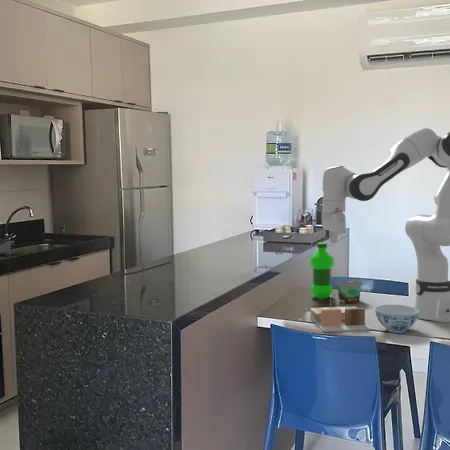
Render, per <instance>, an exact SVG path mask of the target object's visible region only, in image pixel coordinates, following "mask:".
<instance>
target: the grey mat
mask: <svg viewBox="0 0 450 450" xmlns="http://www.w3.org/2000/svg"><path fill="white" fill-rule="evenodd" d="M315 324H316V326H317V327H318V328H320V330H321V331H322V332H324V333H327V332H328V333H330V332H331V333H332V332H353V331H354V332H355V331H356V332H358V331H373V330H374V329H373V327H372V326H370V325H369V324H368V323H366V322H365V325H349V326H346V325H345V322H341V326H321V323H315Z"/></svg>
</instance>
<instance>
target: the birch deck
mask: <svg viewBox="0 0 450 450" xmlns="http://www.w3.org/2000/svg"><path fill="white" fill-rule="evenodd" d="M345 308H358V307H357V306H356V305H355V306H331V307H329V306H328V307H327V306H326V307H325V306H324V307H310V309H309V311H310V312H309V313H310V315H309V316H310V317H309V318H310V319H311V320H312V321H313V323H314V324H316V323H321V309H341V322H345Z"/></svg>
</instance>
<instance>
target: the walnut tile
mask: <svg viewBox="0 0 450 450" xmlns="http://www.w3.org/2000/svg"><path fill="white" fill-rule="evenodd" d="M365 323H366V309H365V308H364V307H357V308H345V325H346V326H349V325H365Z"/></svg>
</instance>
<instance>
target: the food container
mask: <svg viewBox="0 0 450 450" xmlns="http://www.w3.org/2000/svg"><path fill="white" fill-rule="evenodd" d="M336 286H337V292H338V295H337V296H338V302H340V303H339V304H343V303H345V304H347V305H353V304H358V303H360V300H361V299H360V298H361V289H362V286H363V280H362V279H361V278H358V279H357V280H346V281H341V280H337V282H336ZM345 304H344V305H345Z"/></svg>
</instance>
